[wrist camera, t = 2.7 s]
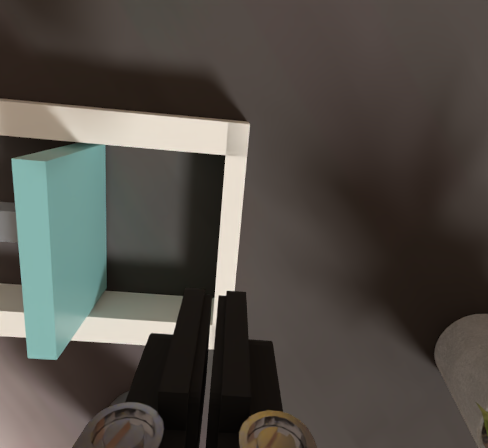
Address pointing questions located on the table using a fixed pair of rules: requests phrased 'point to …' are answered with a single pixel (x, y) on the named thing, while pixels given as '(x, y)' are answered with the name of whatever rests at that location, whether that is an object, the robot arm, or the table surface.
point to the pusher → (58, 240)
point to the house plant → (467, 371)
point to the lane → (142, 136)
